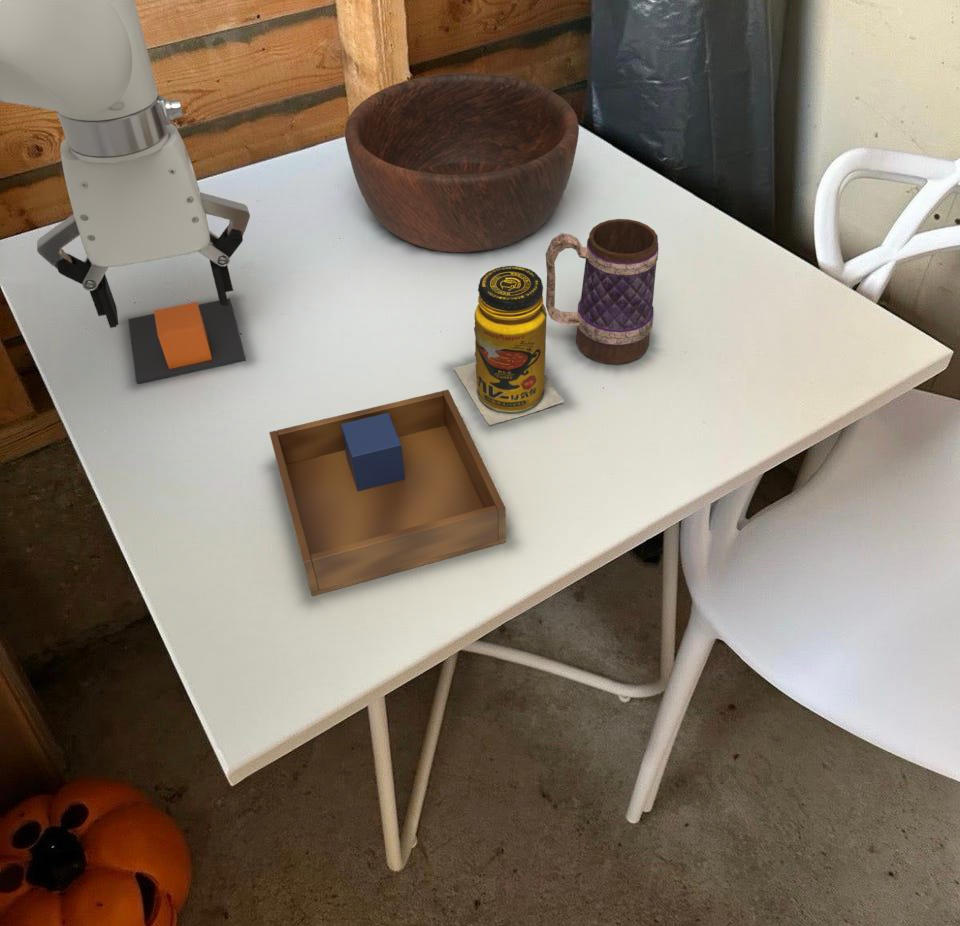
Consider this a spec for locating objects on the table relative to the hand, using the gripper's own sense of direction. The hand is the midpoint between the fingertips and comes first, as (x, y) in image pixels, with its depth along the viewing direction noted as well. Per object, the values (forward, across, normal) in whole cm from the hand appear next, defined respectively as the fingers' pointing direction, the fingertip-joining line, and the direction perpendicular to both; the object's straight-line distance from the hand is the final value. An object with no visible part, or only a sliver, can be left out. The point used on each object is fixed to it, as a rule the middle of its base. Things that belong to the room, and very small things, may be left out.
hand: (169, 308), depth 83 cm
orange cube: (+6, 0, -1) cm, 6 cm away
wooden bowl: (+5, -34, -17) cm, 38 cm away
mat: (+6, 0, -3) cm, 7 cm away
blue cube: (+6, -14, +20) cm, 25 cm away
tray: (+6, -14, +24) cm, 28 cm away
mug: (+6, -38, +11) cm, 39 cm away
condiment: (+6, -28, +14) cm, 31 cm away
